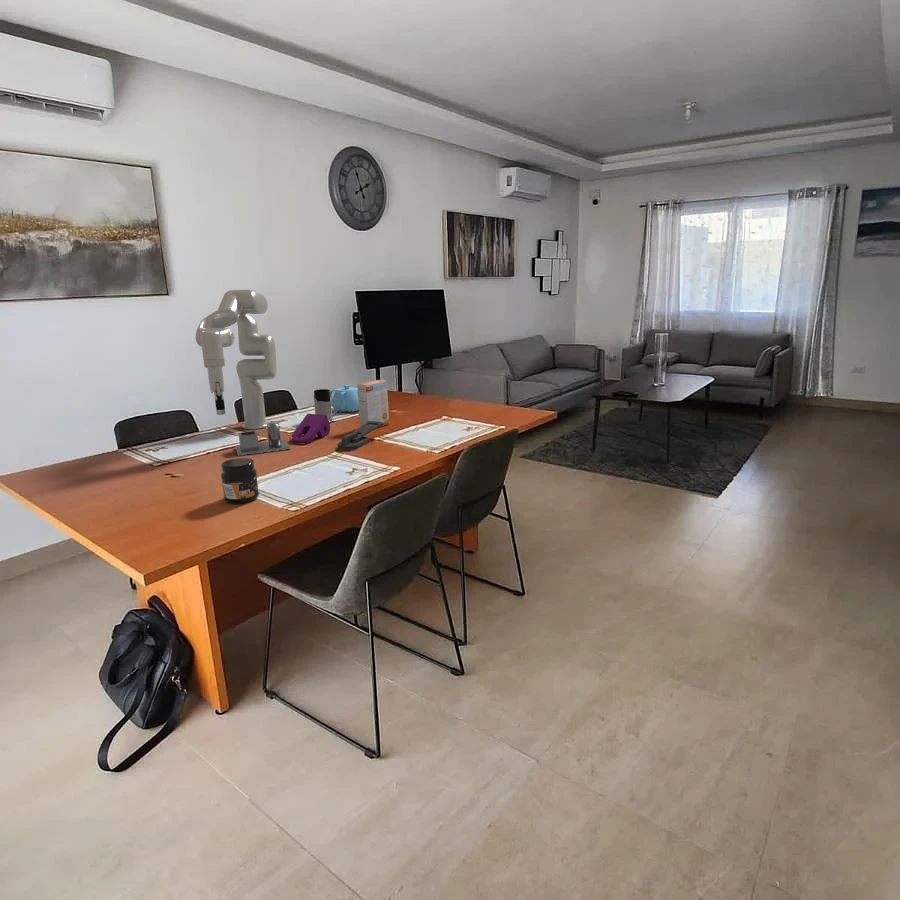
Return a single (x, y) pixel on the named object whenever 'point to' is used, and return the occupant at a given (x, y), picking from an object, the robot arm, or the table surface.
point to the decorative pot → (345, 399)
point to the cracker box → (373, 402)
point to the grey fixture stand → (252, 446)
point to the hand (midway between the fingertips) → (220, 408)
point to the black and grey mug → (324, 403)
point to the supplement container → (239, 480)
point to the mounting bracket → (311, 428)
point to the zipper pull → (354, 440)
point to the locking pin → (219, 412)
